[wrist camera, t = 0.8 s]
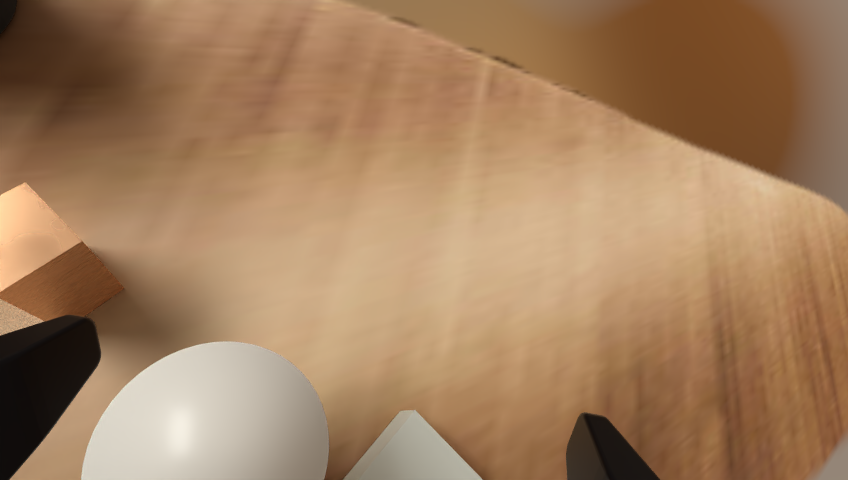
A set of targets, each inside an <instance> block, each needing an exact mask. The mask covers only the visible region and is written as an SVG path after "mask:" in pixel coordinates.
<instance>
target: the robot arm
mask: <svg viewBox="0 0 848 480" xmlns="http://www.w3.org/2000/svg"><path fill="white" fill-rule="evenodd" d="M100 358H101V349H100V344H99V339H98V334H97V329H96V325H95V322H94V321H93V320H92V319H90V318H88V317H83V316H77V315H64V316H61V317H58V318H54V319H51V320H48V321H45V322H42V323H39V324H36V325H32V326H29V327H26V328H23V329H20V330H17V331H14V332H10V333H7V334H4V335H1V336H0V480H10V478H11V477H12V476H13V475H14V474H15V473H16V472H17V470H18V469H19V468H20V467H21V466H22V465H23V463H24V462H25V461H26V460H27V459H28V458H29V457H30V455H31V454H32V453H33V452H34V451H35V450H36V448H37V447H38V446H39V445H40V443H41V442H42V441H43V440H44V439H45V437H46V436H47V435H48V433H49V432H50V431H51V429H52V428H53V427H54V425H55V424H56V423H57V421H58V420H59V418H60V417H61V416H62V414H63V413H64V412H65V410H66V409H67V407H68V406H69V405H70V403H71V402H72V401H73V399H74V398H75V396H76V395H77V394H78V392H79V391H80V390H81V388H82V387H83V385H84V384H85V383H86V381H87V380H88V379H89V377H90V376H91V374H92V373H93V372H94V370H95V369H96V367H97V366H98V364H99V362H100ZM566 465H567V480H660V479H659V478H658V477H657V475H656V474H655V473H654V472H653V471H652V470H651V468H650V467H649V466H648V465H647V464H646V463H645V461H644V460H643V459H642V458H641V457H640V456H639V455H638V453H637V452H636V451H635V450H634V449H633V448H632V446H631V445H630V444H629V443H628V442H627V441H626V439H625V438H624V437H623V436H622V435H621V434H620V433H619V431H618V430H617V429H616V428H615V427H614V426H613V424H612V423H611V422H610V421H609V420H608V419H607V418H606V417H604V416H602V415H597V414H591V413H586V412H584V413H581V414H580V415H579V417H578V419H577V421H576V424H575V427H574V429H573V432H572V434H571V437H570V440H569V442H568V445H567V451H566Z"/></svg>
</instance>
